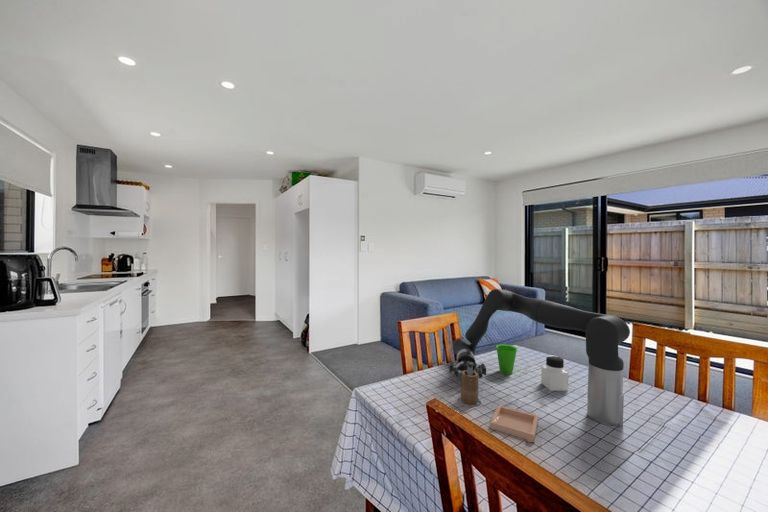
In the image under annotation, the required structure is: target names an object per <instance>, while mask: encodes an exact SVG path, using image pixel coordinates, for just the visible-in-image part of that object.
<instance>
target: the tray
mask: <svg viewBox="0 0 768 512" xmlns="http://www.w3.org/2000/svg"><path fill="white" fill-rule="evenodd" d="M489 424H490V426H489V428H490V429H492V430H494V431H497V432H501V433H504V434H508V435H512V436H515V437H518V438H521V439H524V440H525V441H526V442H527V441H528V443H531V442H534V443H535V439H536V435H537V430H538V426H539V415H537V414H533V413H530V412H526V411H522V410H519V409H514V408H511V407H508V406H507V407H506V406H502V405H501V404H500V405H499V404H498V405H497V407H496V409H495V412H494V413H493V416H492V417H491V419H490V423H489Z"/></svg>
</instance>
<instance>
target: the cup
mask: <svg viewBox="0 0 768 512" xmlns="http://www.w3.org/2000/svg"><path fill="white" fill-rule="evenodd" d="M495 348H496V353H497V361H498V369H499V372H500V373H501V374H503V375H512V374H513V373H514V372H513V370H514V367H515V361H516V356H517V351H518V348H517V347H516V346H514V345H511V344H497V345H496V346H495Z"/></svg>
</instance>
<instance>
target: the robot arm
mask: <svg viewBox="0 0 768 512" xmlns="http://www.w3.org/2000/svg"><path fill="white" fill-rule="evenodd" d="M479 309H480V310H479V312H478V314H477V315H476V318H475V320H474V321H473V322H472V324H471V325H470V326H469V328H468V329H467V331H466V332H465V334H464V338H465V339H466V340H465V339H464V338H460V337H458V338H455V340H454V341H453V344H452V350H453V352H454V354H455V355H456V362H454V361H453V360H450V361H449V365H448V366H449V367H448V369H449V372H450V373H452V372H453V375H454V376H455V377H456V378H457V377H459V374H462V372H463V371H465V370H467V362H468V361H470V362H473V363H474V366H473V371H475V372H477V373H478V374H479V375H478V380H479V379H480V380H481V379H482V378H483V375H484V376H487V366H486V364H485V363H481V364H477V362H476V359H475V353H476V348H477V346H478V345H479V343H480V341H481V340H482V338H483V337H484V335H485V334H486V333H487V331H488V327H489V322H490V319H491V317H492V316H493V315H494V314H495V313H496V312H497V311H503V312H505V311H506V312H513V313H518V314H520V315H521V314H522V315H524V316H525V317H527V318H529V319H530V320H532V321H533V322H537V323H539V324H541V325H545V326H547V327H551V328H558V329H565V330H575V331H579V332H584V333H585V353H586V355H587V358H588V364H587V365H588V366H587V368H588V369H587V371H588V372H587V400H586V401H587V404H586V405H587V406H586V414H587V416H588V417H589V418H590V419H592V420H593V421H596V422H598V423H601V424H603V425H608V426H619V427H623V426H624V404H625V403H624V401H625V397H624V393H623V392H624V391H623V390H624V368H625V367H624V360H623V359H622V358H621V357H620V356H619V345H620V344H622V343H623V342H625V341H626V340H627V339H628V338H629V336H630V334H631V330H630V327H629V325H628V323H626V322H625V320H623V319H622V318H620V317H618V316H615V315H611V314H603V313H597V312H592V311H586V310H582V309H578V308H575V307H572V306H570V305H566V304H561V303H558V302H555V301H551V300H547V299H541V298H537V297H535V298H533V297H527V296H524V295H520V294H518V293H515V292H513V291H510V290H508V289H502V288H501V289H500V288H494V289H491V290H490V291H489V292H488V294H487V295H486V297H485V300H484V301H483V303H482V306H481V307H480V308H479Z"/></svg>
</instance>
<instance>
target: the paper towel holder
mask: <svg viewBox="0 0 768 512" xmlns="http://www.w3.org/2000/svg"><path fill="white" fill-rule="evenodd" d="M473 366H474V363H473V362H470V361H468V362H467V375H469V376H473ZM457 402H458V403H459V404H461V405H462V406H465V407H468V408H477V407H480V406H481V405H482V401H481V400H480V399H479V398H478V403H477V404H476V405H468V404H464V403H463V402H462V401H461V396H459V397H458V398H457Z"/></svg>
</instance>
